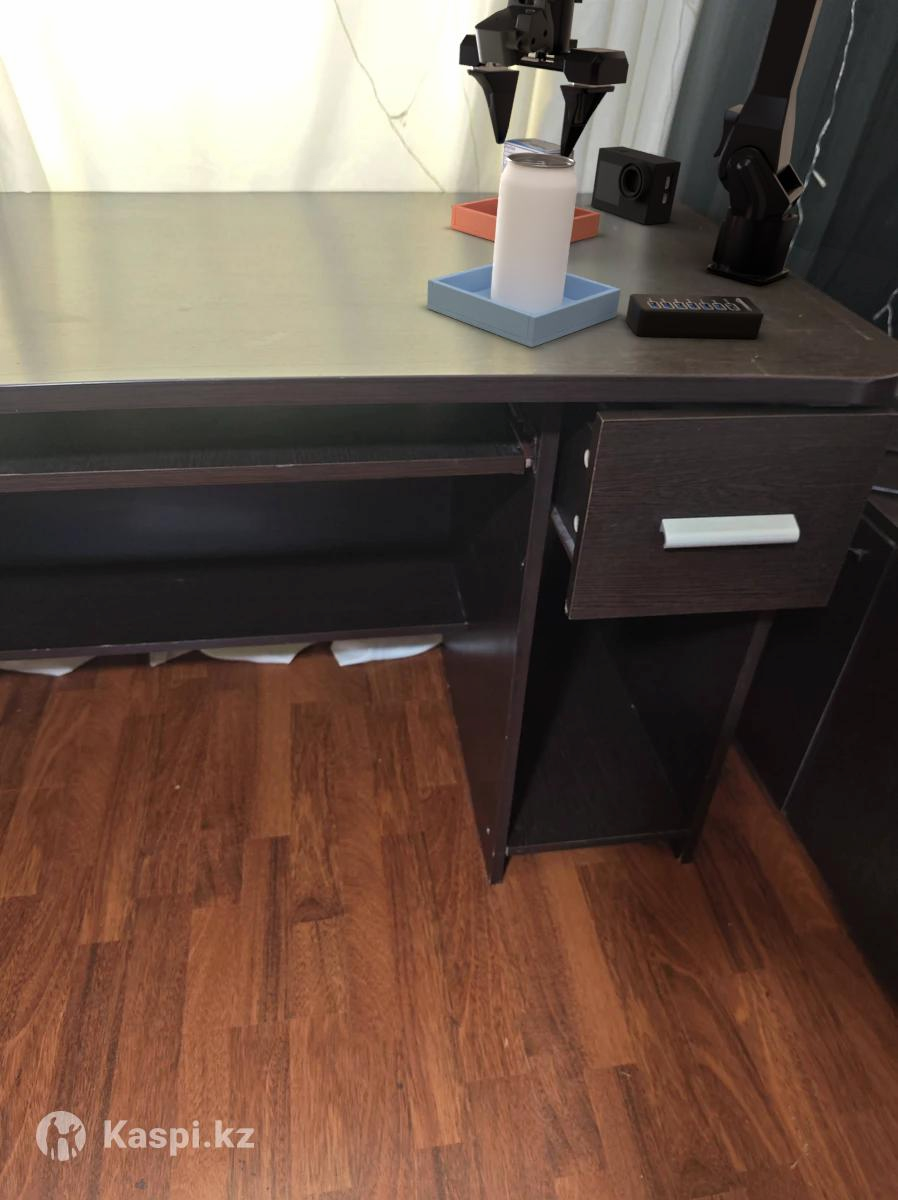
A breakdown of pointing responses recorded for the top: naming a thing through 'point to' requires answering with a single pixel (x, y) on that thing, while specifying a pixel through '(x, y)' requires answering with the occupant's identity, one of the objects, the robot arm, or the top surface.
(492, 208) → the coral tray
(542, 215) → the can
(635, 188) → the digital camera
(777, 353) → the top surface
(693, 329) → the multiport hub
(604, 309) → the blue tray
